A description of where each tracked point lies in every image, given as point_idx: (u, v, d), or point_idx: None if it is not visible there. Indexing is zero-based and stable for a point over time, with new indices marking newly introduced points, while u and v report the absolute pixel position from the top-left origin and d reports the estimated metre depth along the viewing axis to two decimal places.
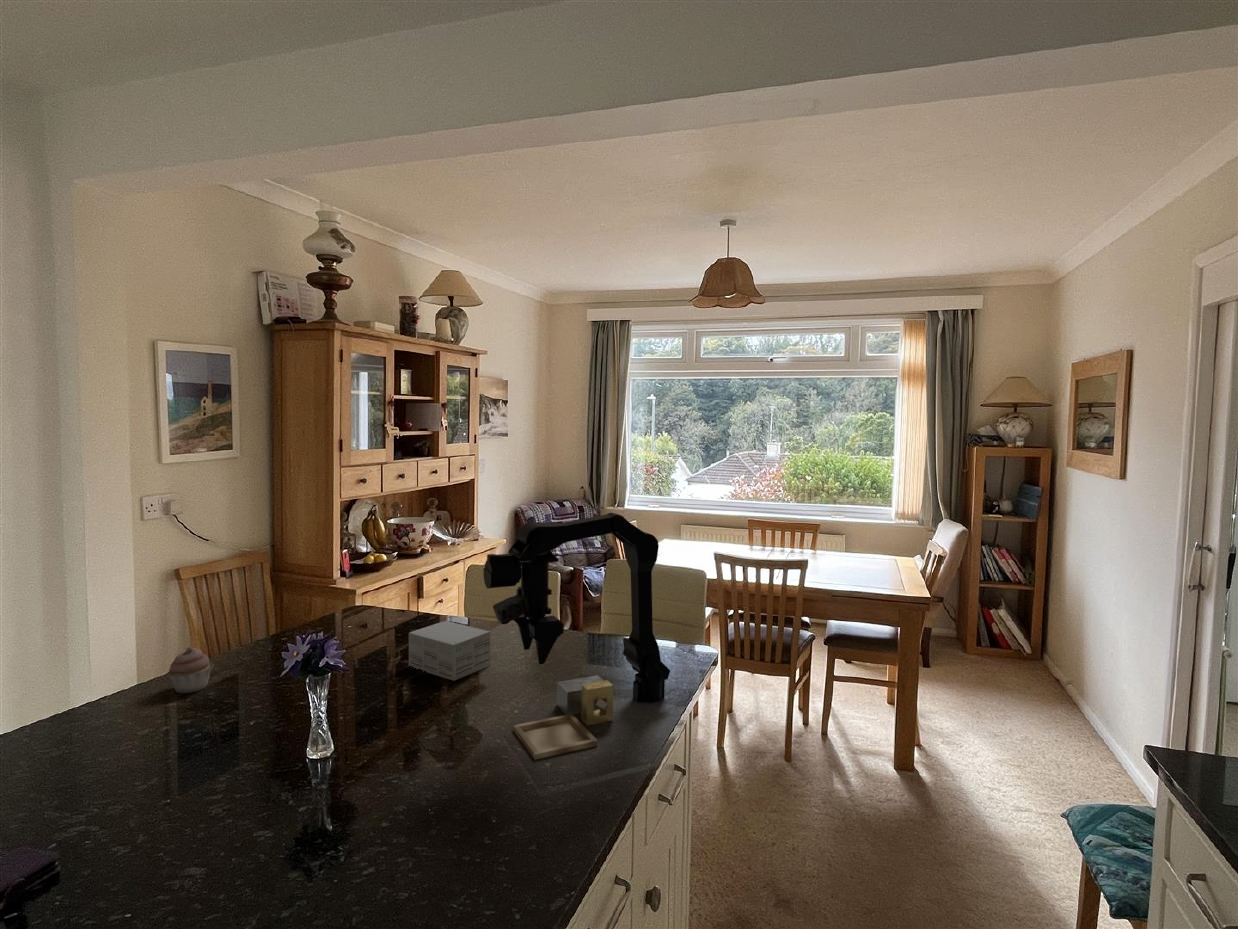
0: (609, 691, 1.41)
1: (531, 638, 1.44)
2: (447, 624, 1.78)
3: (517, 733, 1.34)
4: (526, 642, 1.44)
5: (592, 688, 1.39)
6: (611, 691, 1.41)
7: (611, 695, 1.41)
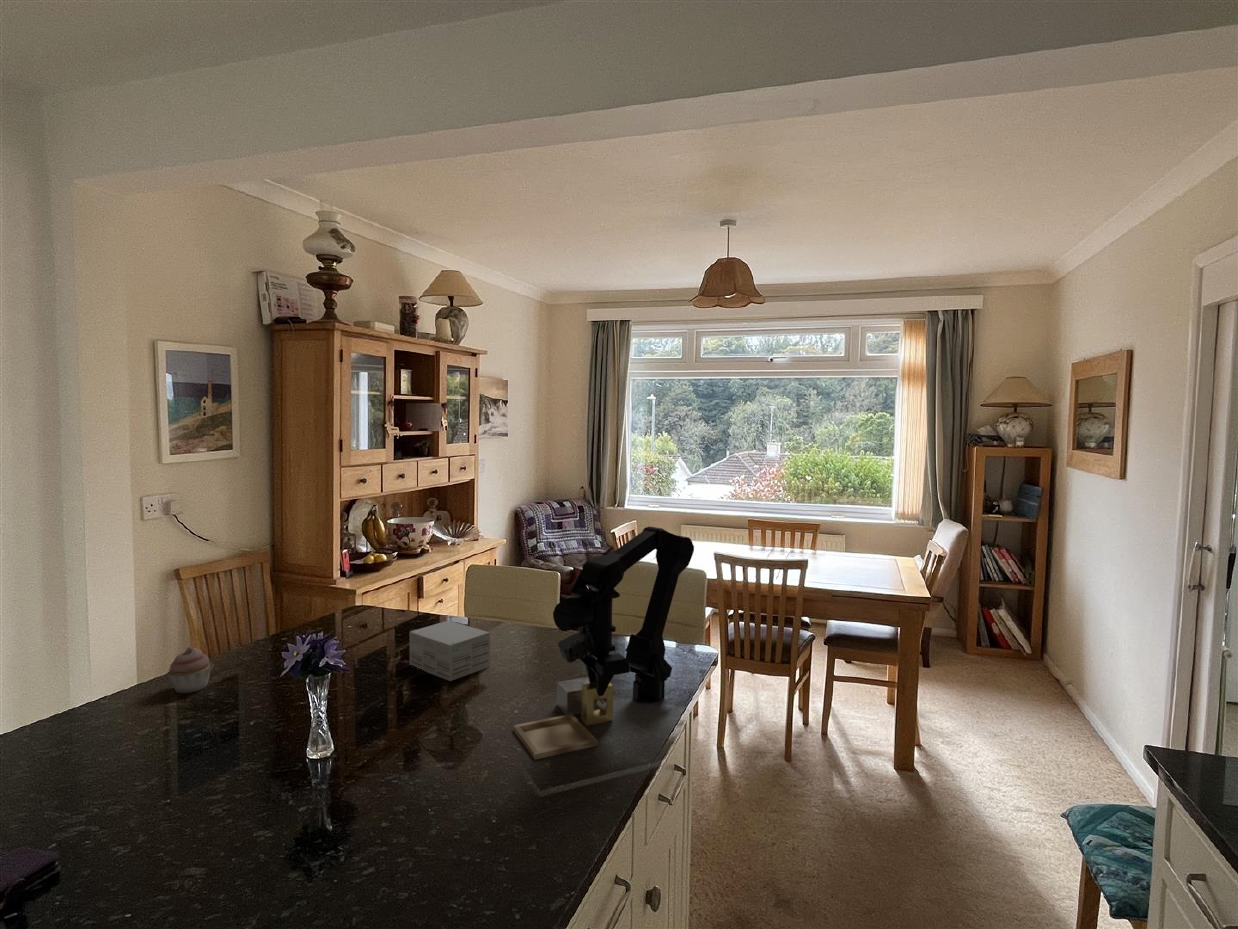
0: (609, 691, 1.41)
1: None
2: (449, 624, 1.78)
3: (517, 733, 1.34)
4: (593, 682, 1.42)
5: (592, 688, 1.39)
6: (611, 691, 1.41)
7: (611, 695, 1.41)
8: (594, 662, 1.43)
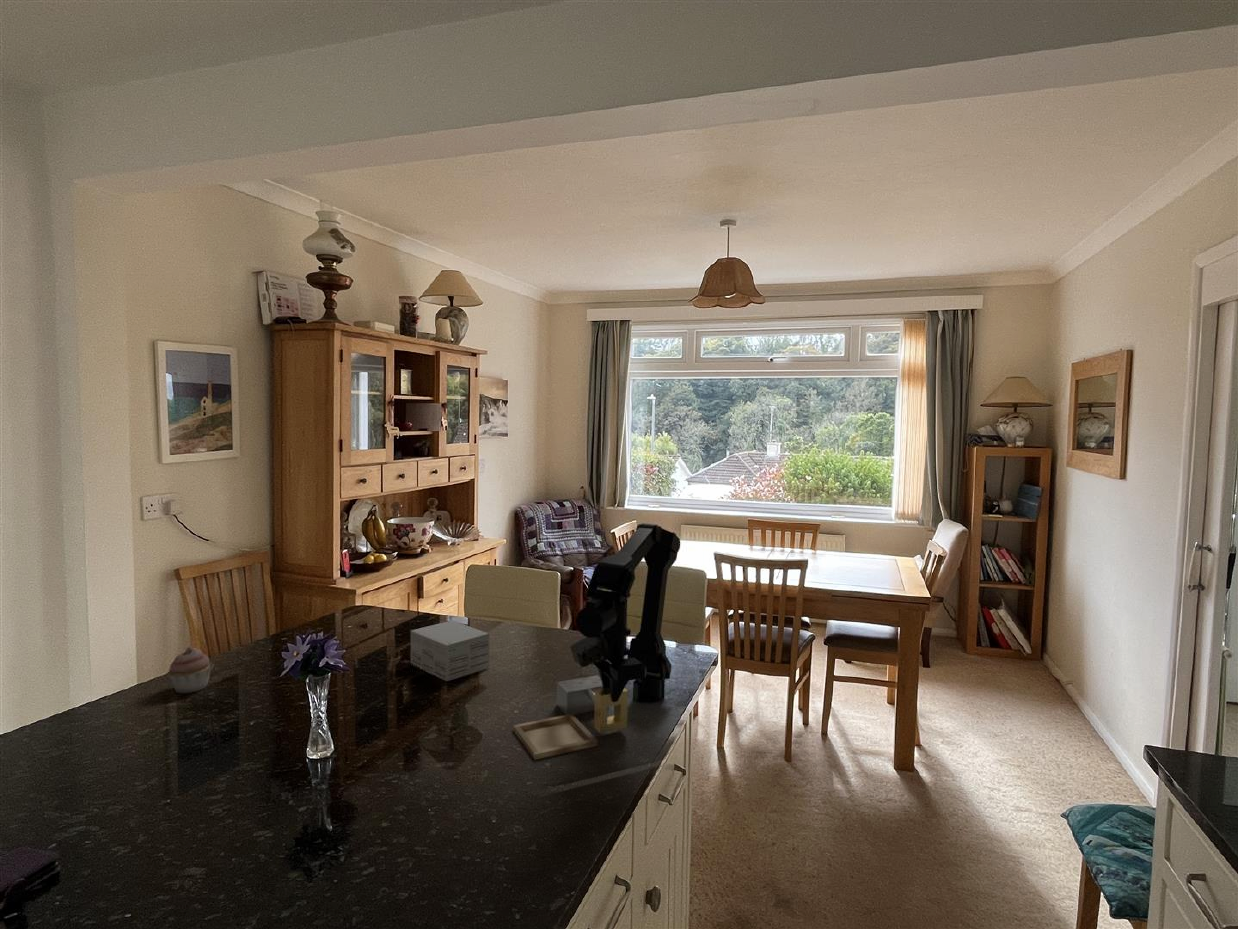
0: (623, 697, 1.35)
1: None
2: (451, 624, 1.78)
3: (517, 733, 1.34)
4: None
5: (606, 694, 1.33)
6: (625, 697, 1.35)
7: (625, 701, 1.35)
8: (608, 666, 1.37)
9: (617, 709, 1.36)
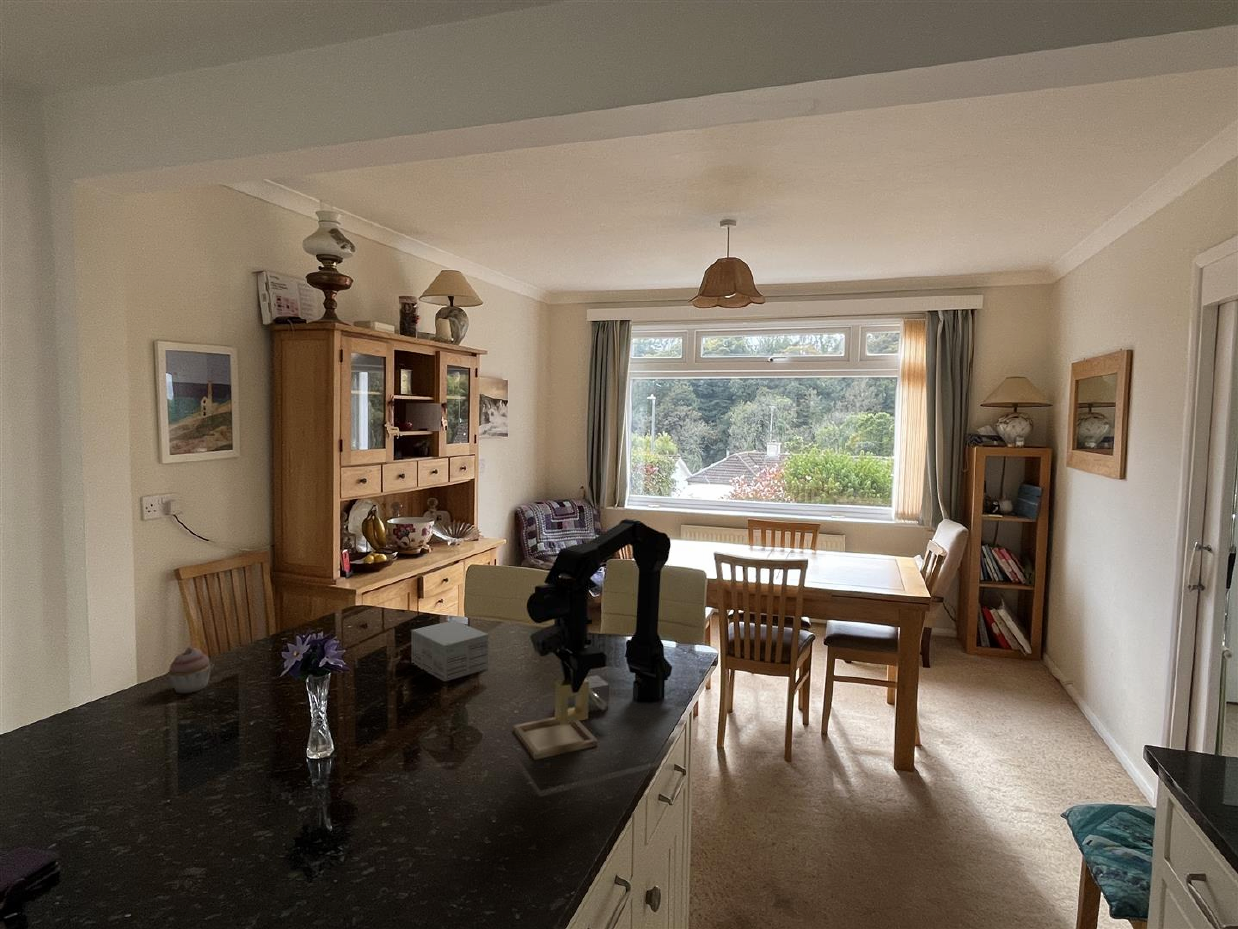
0: (585, 687, 1.32)
1: None
2: (452, 624, 1.78)
3: (517, 733, 1.34)
4: None
5: (566, 684, 1.31)
6: (587, 687, 1.33)
7: (587, 692, 1.33)
8: (569, 657, 1.34)
9: (578, 700, 1.34)
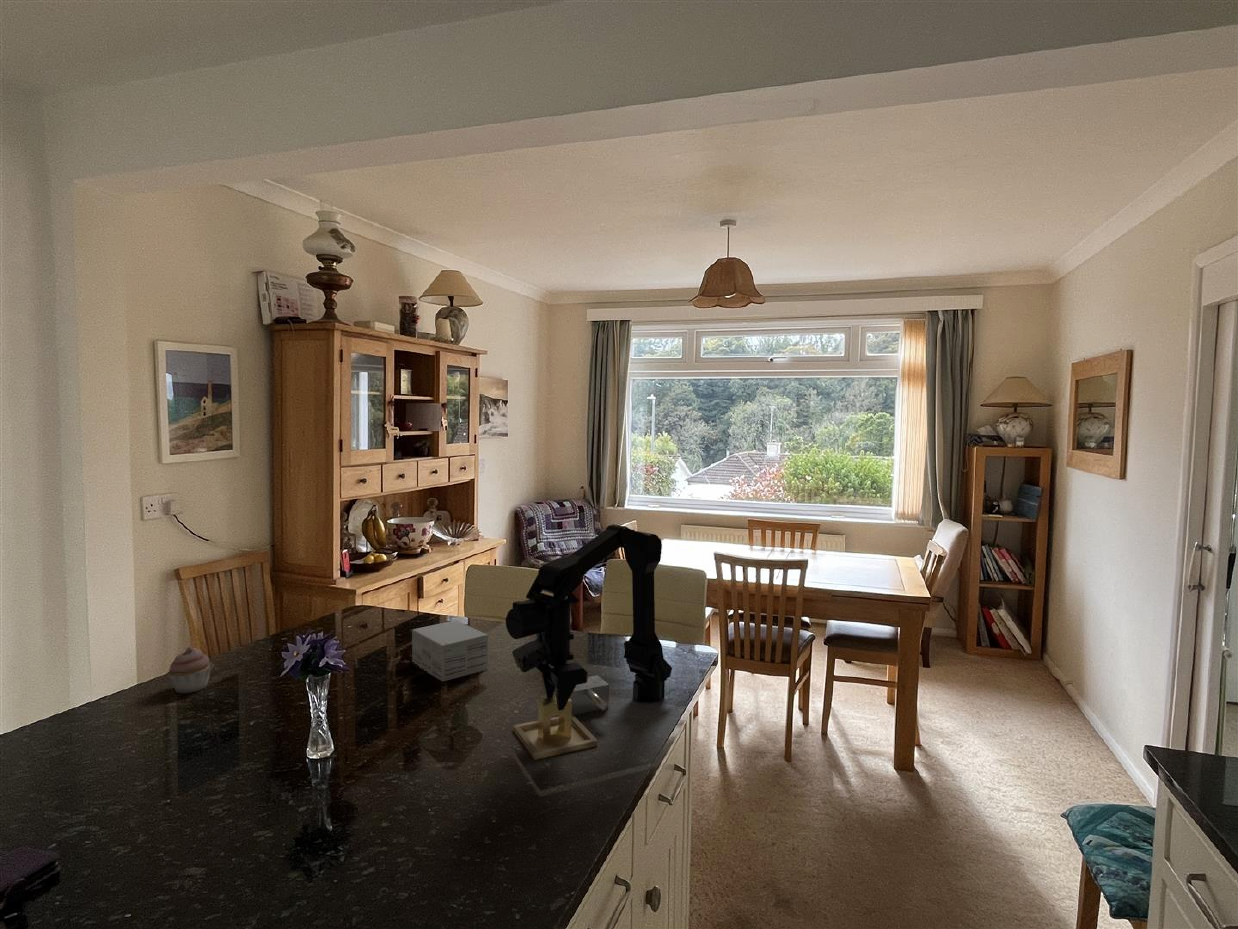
0: (567, 707, 1.33)
1: (554, 686, 1.36)
2: (453, 624, 1.78)
3: (517, 733, 1.34)
4: (549, 690, 1.35)
5: (549, 704, 1.31)
6: (570, 707, 1.33)
7: (570, 711, 1.33)
8: (550, 669, 1.36)
9: (561, 719, 1.34)
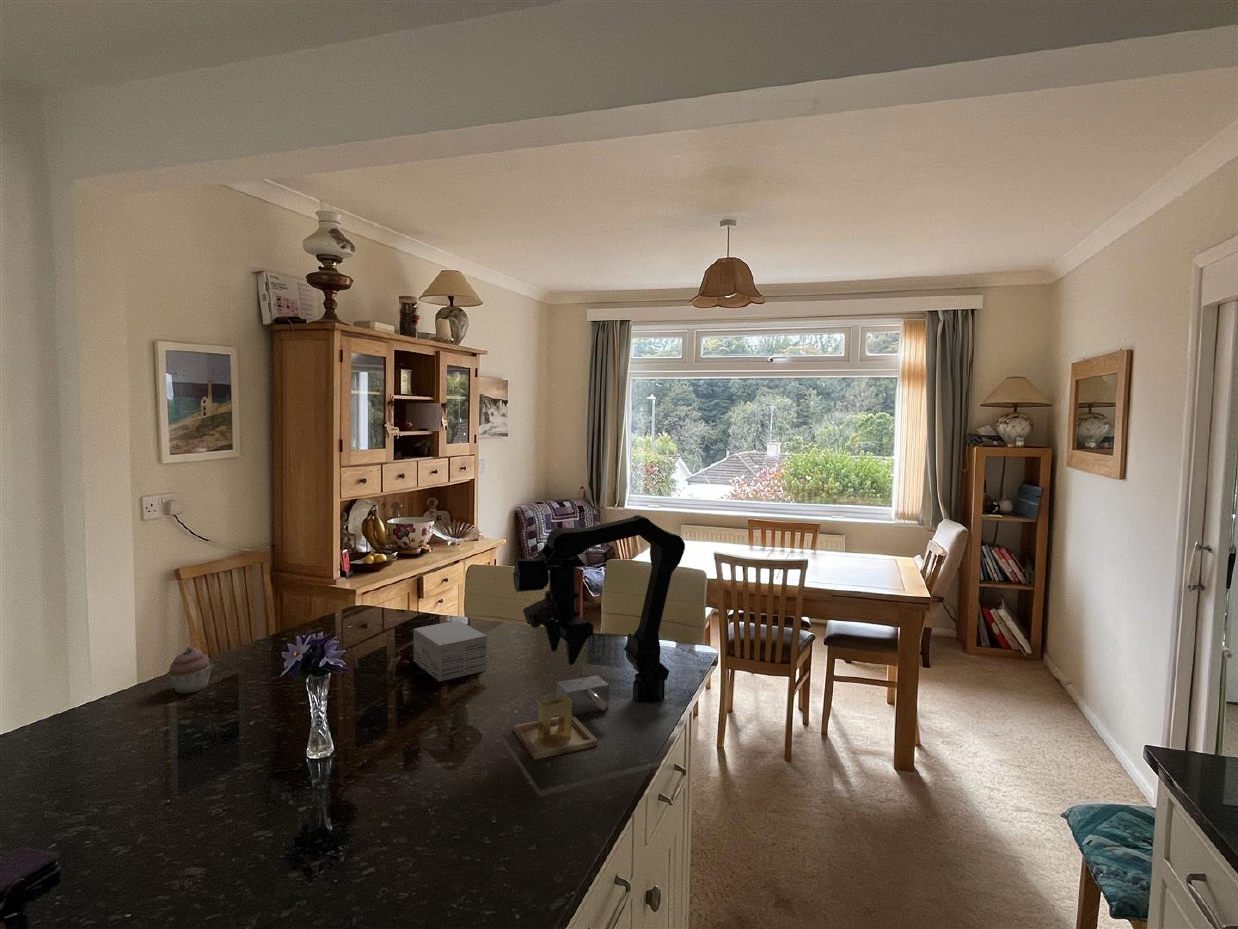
0: (567, 707, 1.33)
1: (558, 640, 1.49)
2: (455, 624, 1.78)
3: (517, 733, 1.34)
4: (553, 644, 1.49)
5: (549, 704, 1.31)
6: (570, 707, 1.33)
7: (570, 711, 1.33)
8: (554, 624, 1.49)
9: (561, 719, 1.34)
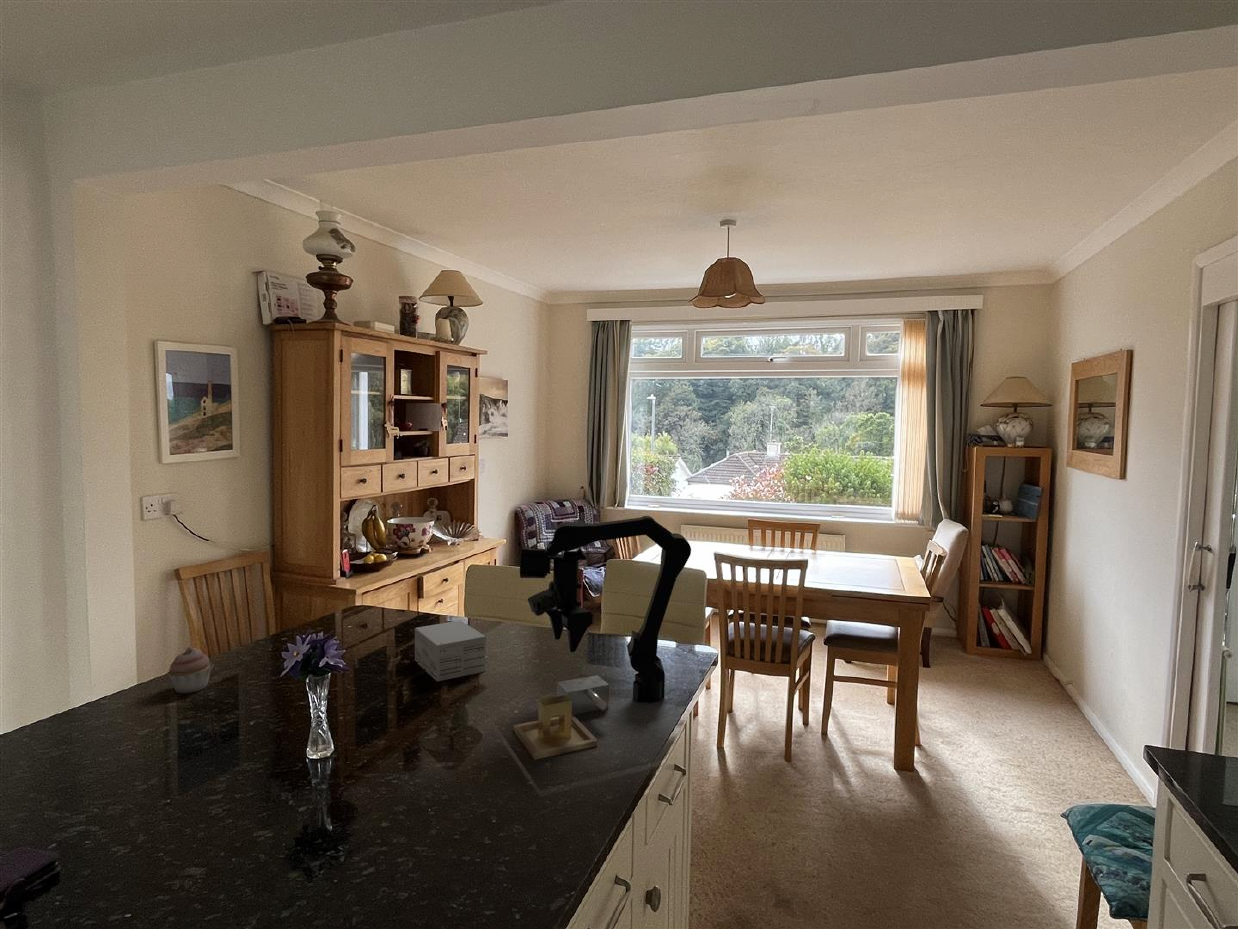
0: (567, 707, 1.33)
1: (561, 629, 1.56)
2: (456, 624, 1.78)
3: (517, 733, 1.34)
4: (557, 632, 1.56)
5: (549, 704, 1.31)
6: (570, 707, 1.33)
7: (570, 711, 1.33)
8: (557, 614, 1.56)
9: (561, 719, 1.34)
